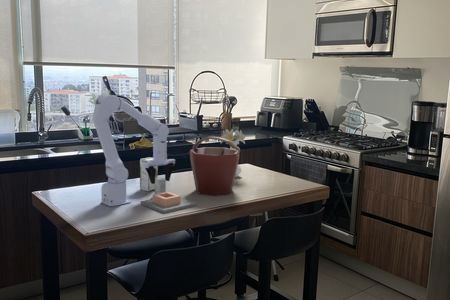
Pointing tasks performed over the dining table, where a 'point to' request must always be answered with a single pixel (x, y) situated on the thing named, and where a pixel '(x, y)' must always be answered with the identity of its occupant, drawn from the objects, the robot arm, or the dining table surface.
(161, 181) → the steel block
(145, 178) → the syrup box
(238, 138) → the flower vase
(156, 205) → the well board
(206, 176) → the bucket
